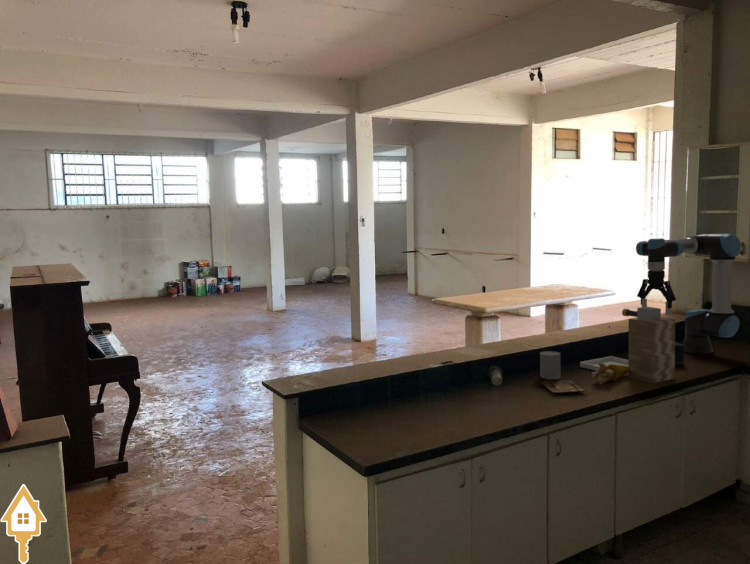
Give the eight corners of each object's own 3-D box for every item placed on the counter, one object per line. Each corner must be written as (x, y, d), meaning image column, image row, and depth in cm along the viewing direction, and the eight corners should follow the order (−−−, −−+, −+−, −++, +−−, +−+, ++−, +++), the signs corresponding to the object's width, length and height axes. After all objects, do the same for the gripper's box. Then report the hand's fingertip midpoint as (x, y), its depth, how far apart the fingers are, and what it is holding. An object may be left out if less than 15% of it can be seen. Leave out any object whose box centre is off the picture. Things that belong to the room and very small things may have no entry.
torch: (629, 383, 287) (597, 386, 273) (616, 373, 293) (585, 375, 278) (637, 369, 284) (606, 371, 269) (624, 359, 289) (593, 361, 275)
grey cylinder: (560, 381, 284) (560, 355, 283) (539, 380, 287) (539, 355, 286) (561, 376, 293) (560, 351, 292) (540, 375, 296) (540, 350, 295)
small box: (684, 365, 303) (684, 344, 302) (671, 365, 303) (671, 345, 302) (674, 360, 314) (674, 340, 313) (662, 361, 314) (662, 341, 313)
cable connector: (629, 315, 295) (629, 304, 295) (660, 320, 279) (660, 308, 279) (620, 316, 293) (620, 305, 292) (651, 321, 277) (651, 309, 276)
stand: (649, 372, 292) (649, 315, 290) (674, 378, 280) (675, 319, 277) (628, 376, 286) (628, 318, 283) (653, 383, 274) (654, 322, 271)
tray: (611, 360, 318) (611, 356, 318) (651, 370, 296) (651, 365, 296) (580, 366, 309) (580, 362, 308) (619, 377, 286) (619, 372, 286)
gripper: (629, 269, 303) (629, 311, 305) (673, 272, 280) (673, 317, 282) (640, 268, 306) (640, 309, 308) (684, 271, 284) (683, 315, 286)
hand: (655, 313), depth 295 cm, fingers open, 13 cm apart
